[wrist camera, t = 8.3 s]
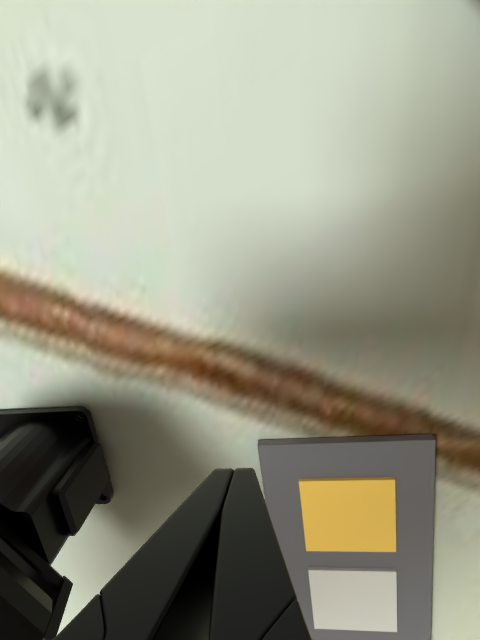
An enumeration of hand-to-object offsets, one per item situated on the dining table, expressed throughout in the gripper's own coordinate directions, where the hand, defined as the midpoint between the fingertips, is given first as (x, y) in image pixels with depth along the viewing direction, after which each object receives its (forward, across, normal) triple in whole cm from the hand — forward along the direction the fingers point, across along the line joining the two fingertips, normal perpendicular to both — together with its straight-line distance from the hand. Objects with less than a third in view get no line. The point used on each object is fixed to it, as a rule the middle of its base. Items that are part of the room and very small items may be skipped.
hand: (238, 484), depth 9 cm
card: (+12, -3, +16) cm, 20 cm away
